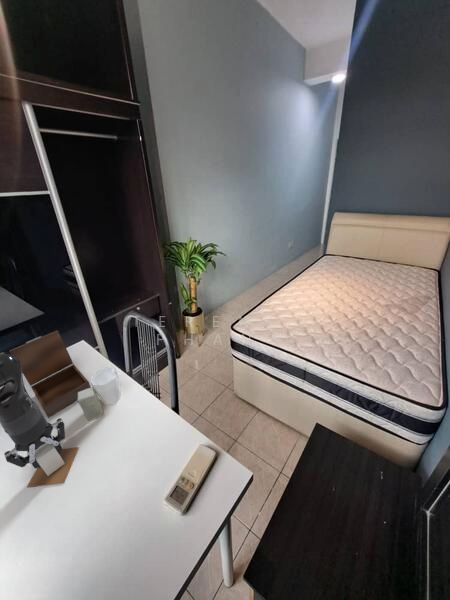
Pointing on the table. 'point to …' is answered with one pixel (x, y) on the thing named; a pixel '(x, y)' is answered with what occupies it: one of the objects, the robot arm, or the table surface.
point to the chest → (60, 390)
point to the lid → (42, 357)
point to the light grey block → (48, 458)
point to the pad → (58, 475)
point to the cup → (107, 385)
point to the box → (90, 403)
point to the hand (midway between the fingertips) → (49, 458)
